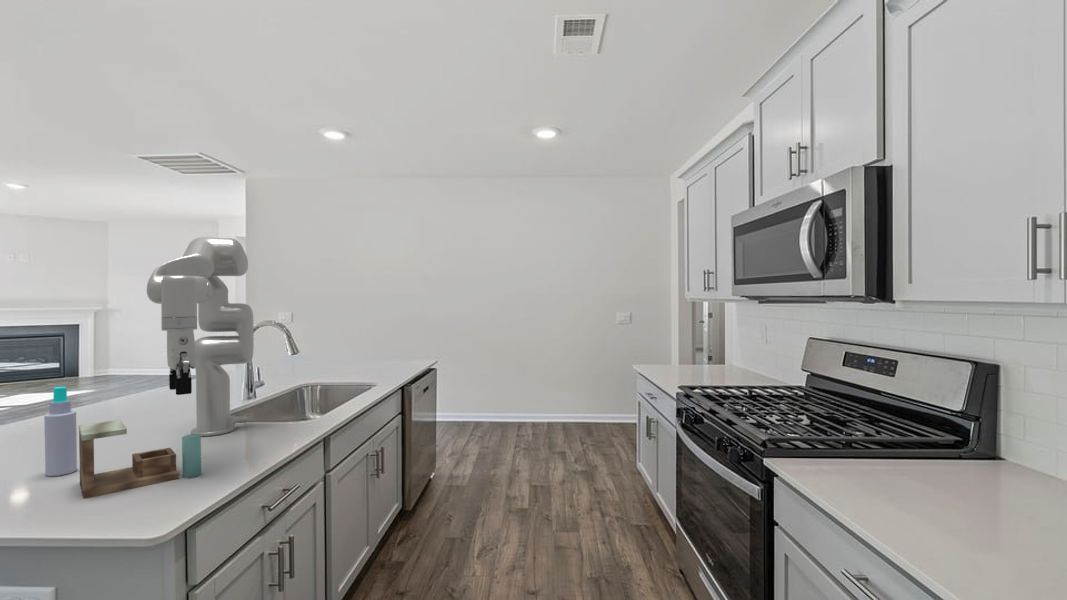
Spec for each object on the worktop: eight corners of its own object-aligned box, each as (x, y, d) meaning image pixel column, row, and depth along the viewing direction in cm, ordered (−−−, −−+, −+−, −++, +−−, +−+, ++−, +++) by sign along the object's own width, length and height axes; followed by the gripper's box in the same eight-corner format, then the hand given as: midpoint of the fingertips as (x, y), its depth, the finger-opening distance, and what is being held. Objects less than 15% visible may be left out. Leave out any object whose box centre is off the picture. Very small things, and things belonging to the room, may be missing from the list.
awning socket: (168, 465, 140) (168, 413, 140) (178, 478, 131) (177, 422, 130) (79, 482, 128) (78, 425, 127) (83, 498, 118) (82, 435, 118)
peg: (199, 471, 136) (198, 433, 136) (202, 475, 133) (202, 436, 133) (181, 475, 133) (180, 436, 133) (184, 479, 130) (183, 439, 130)
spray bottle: (51, 470, 136) (50, 386, 136) (80, 467, 139) (79, 384, 138) (40, 478, 131) (39, 390, 130) (71, 475, 133) (70, 388, 133)
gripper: (204, 324, 129) (204, 394, 129) (190, 322, 142) (191, 385, 142) (167, 326, 124) (167, 398, 124) (156, 323, 137) (157, 388, 137)
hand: (180, 391), depth 133 cm, fingers open, 9 cm apart
